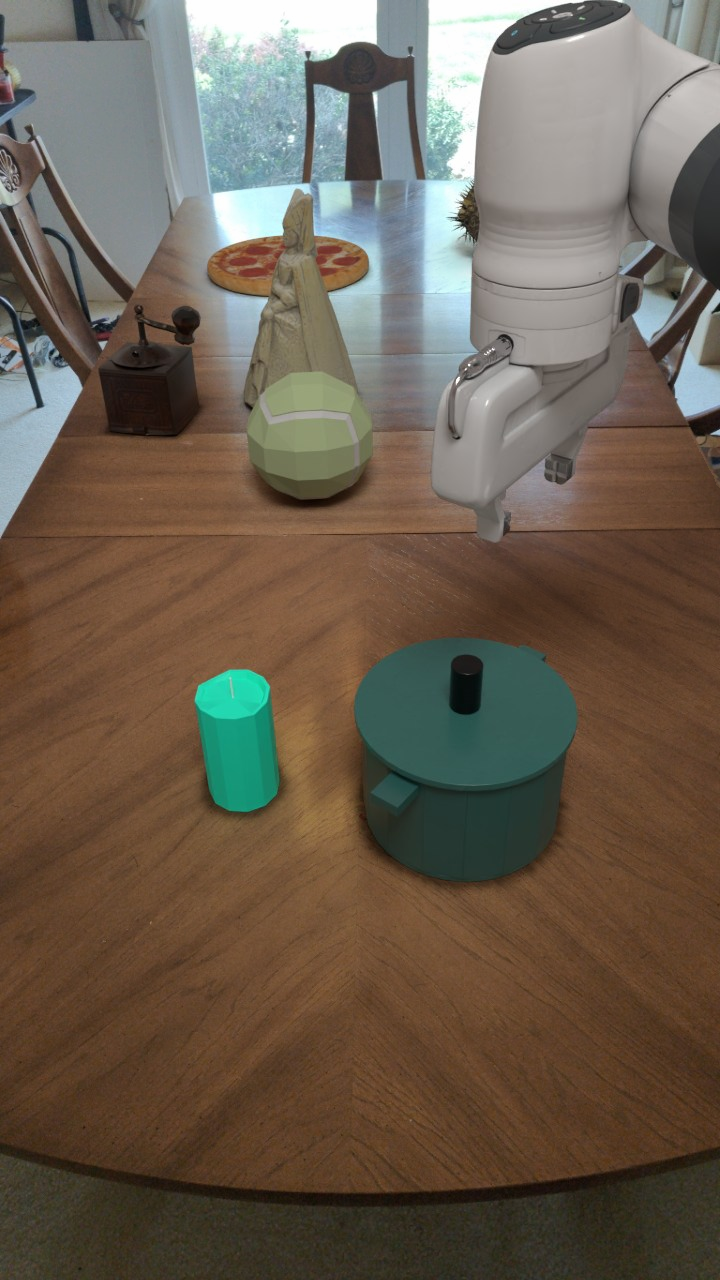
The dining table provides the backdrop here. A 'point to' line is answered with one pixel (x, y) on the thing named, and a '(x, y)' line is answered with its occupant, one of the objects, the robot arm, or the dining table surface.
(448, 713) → the lid
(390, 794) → the pot
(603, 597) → the dining table surface
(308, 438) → the tennis ball
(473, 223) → the durian
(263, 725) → the candle
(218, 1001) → the dining table surface
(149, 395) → the coffee grinder
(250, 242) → the pizza
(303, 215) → the sculpture
